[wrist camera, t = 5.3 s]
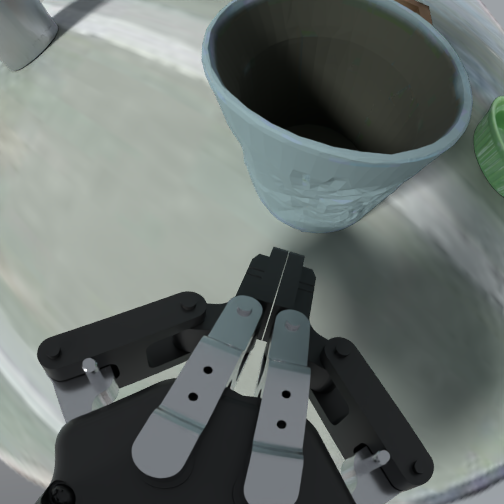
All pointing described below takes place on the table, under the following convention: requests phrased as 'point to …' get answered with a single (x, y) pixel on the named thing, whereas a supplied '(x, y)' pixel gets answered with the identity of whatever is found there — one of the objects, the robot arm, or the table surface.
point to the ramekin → (492, 145)
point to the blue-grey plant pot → (334, 101)
